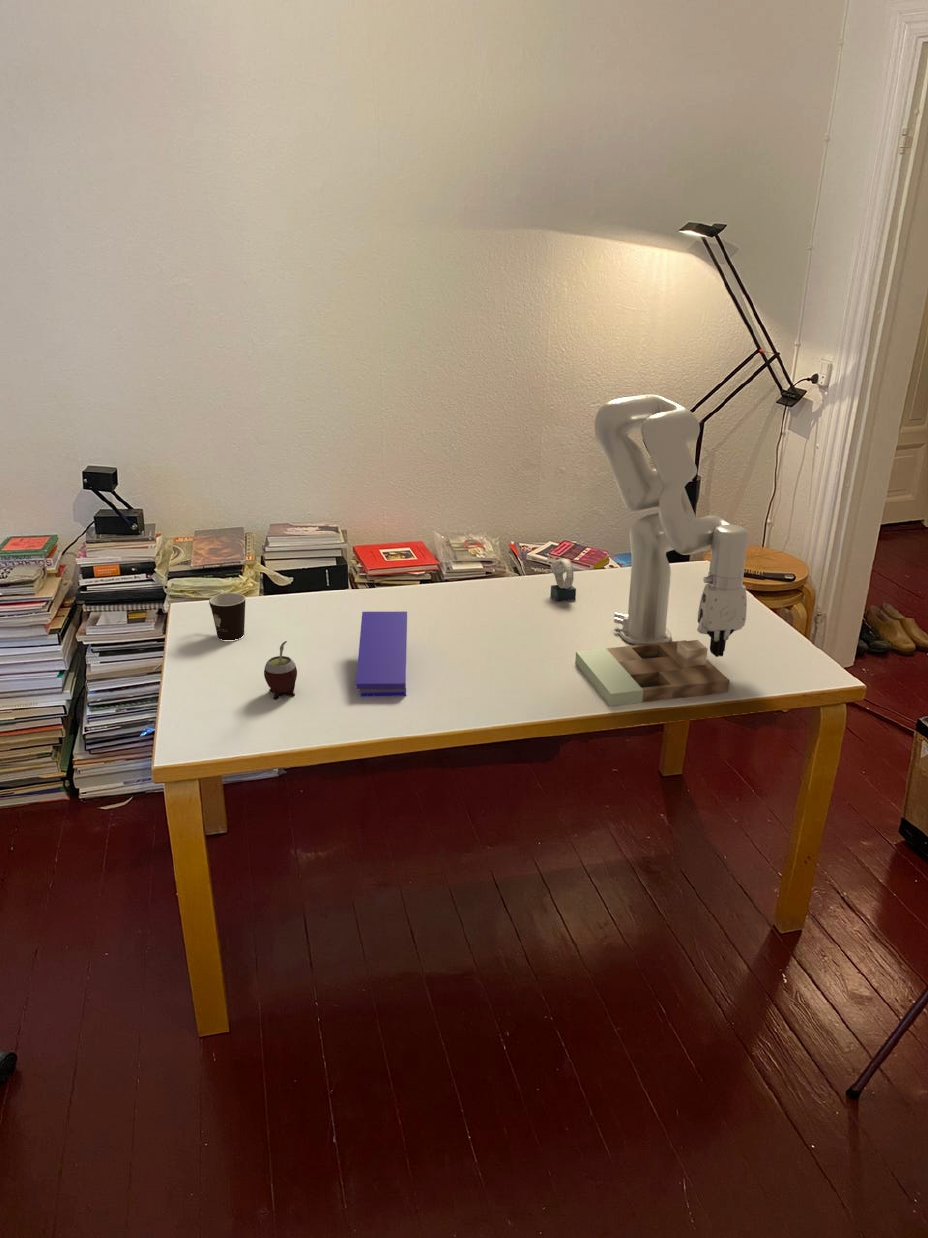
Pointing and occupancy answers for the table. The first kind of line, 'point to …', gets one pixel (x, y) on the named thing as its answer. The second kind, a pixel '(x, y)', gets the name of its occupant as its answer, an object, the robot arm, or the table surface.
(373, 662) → the layered purple block
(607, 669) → the pad
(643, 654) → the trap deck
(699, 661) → the maple block
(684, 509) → the robot arm
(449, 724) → the table surface
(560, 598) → the white knot sculpture
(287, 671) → the mate gourd
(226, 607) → the coffee mug
